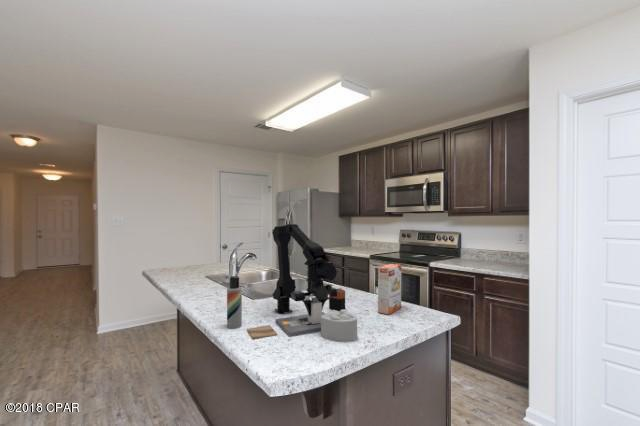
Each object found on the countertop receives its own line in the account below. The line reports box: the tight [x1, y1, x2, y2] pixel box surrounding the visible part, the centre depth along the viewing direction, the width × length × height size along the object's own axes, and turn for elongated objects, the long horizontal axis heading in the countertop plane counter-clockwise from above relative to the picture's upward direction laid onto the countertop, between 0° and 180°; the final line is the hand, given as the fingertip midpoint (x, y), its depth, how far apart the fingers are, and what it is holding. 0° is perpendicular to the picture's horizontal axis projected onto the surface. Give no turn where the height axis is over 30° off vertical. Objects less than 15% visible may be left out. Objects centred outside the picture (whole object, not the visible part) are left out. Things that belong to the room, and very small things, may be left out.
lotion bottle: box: [226, 275, 243, 329], centre depth 124 cm, size 6×6×20 cm
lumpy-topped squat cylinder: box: [320, 309, 358, 343], centre depth 113 cm, size 10×13×9 cm
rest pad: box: [246, 324, 278, 340], centre depth 116 cm, size 10×9×1 cm
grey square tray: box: [274, 311, 326, 338], centre depth 124 cm, size 17×22×2 cm
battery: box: [328, 287, 346, 312], centre depth 146 cm, size 4×7×10 cm, turn 53°
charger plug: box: [307, 296, 323, 325], centre depth 126 cm, size 5×4×10 cm
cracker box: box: [377, 263, 402, 316], centre depth 143 cm, size 14×6×21 cm, turn 143°
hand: (314, 315), depth 126 cm, fingers closed on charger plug, 4 cm apart
